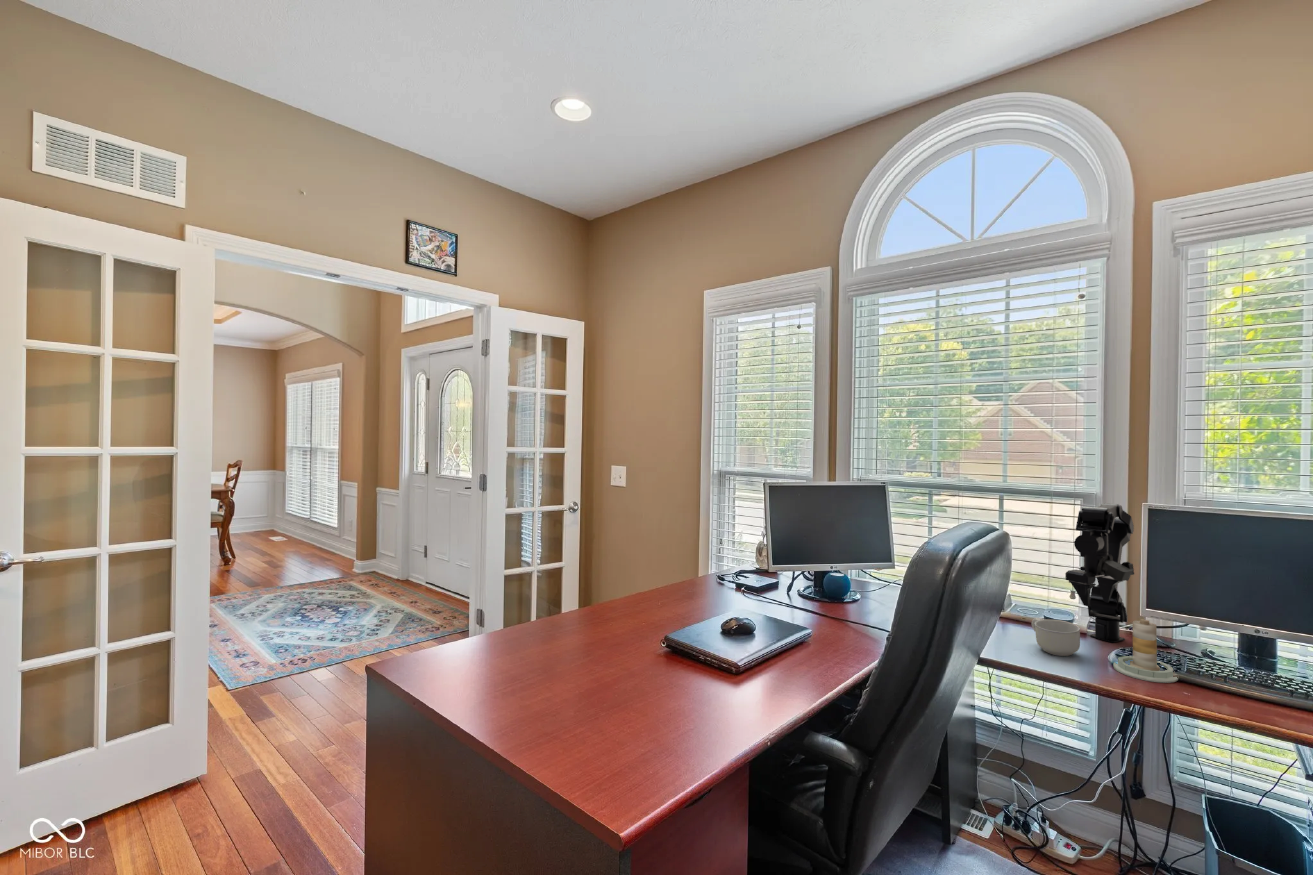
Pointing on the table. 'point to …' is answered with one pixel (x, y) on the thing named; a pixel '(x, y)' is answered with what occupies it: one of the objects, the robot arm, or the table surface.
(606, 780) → the table surface
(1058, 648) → the teacup
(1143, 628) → the bead column
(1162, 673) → the ring dish
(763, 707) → the table surface
